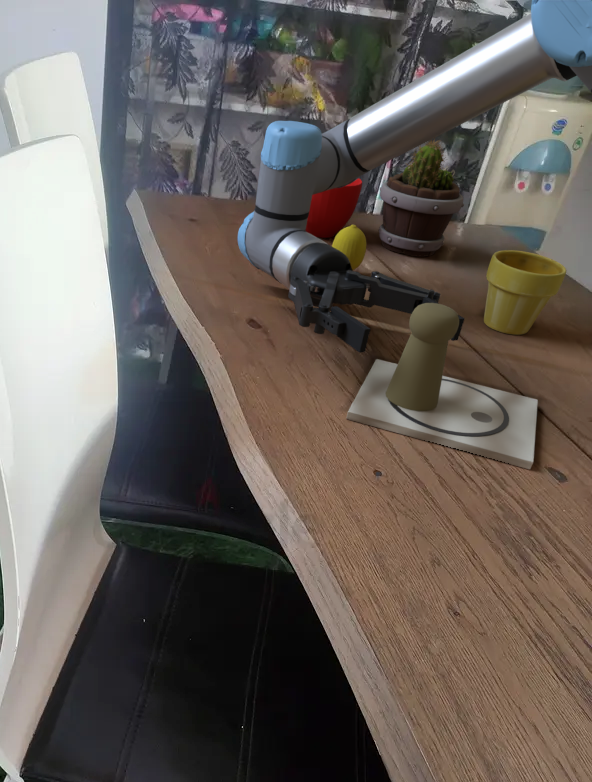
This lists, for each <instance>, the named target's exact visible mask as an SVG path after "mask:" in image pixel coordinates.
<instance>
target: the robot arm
mask: <svg viewBox="0 0 592 782" xmlns="http://www.w3.org/2000/svg"><path fill="white" fill-rule="evenodd" d="M575 77H578V79H579V80H580V81H581V82H582V83H583V85H584V86H585V87H586V88H587V89H588V91H589V92H590V93H591V94H592V0H531V7H530V13H528V14H526V15H525V16H524V17H522V18H520V19H519V20H516V21H515V22H513V23H512V24H509V25H508V26H506V27H504V28H503V29H502V30H499V31H497V32H496V33H494V34H492V35H491V36H489V37H487V38H485V39H484V40H482V41H481V42H479V43H477V44H475V45H474V46H472V47H470V48H469V49H467V50H465V51H463V52H462V53H460V54H458V55H456V56H455V57H453V58H451V59H450V60H447V61H446V62H444V63H443V64H441V65H439V66H438V67H436V68H434V69H433V70H430V71H428V72H427V73H425V74H424V75H422V76H420V77H419V78H417V79H415V80H413V81H412V82H410V83H408V84H407V85H405V86H403V87H401V88H400V89H398V90H396V91H394V92H393V93H391V94H389V95H387V96H385V97H384V98H381V100H379V101H377V102H376V103H374V104H371V105H370V106H368V107H367V108H365V109H363V110H362V111H360V112H358V113H356V114H355V115H353V116H351V117H350V118H348V119H347V120H344V121H342V122H341V123H339V124H338V125H336V126H334V127H332V128H331V129H328V130H327V131H324V132H323V133H322V130H321V129H320V128H319V127H318V126H316V125H314V124H311V123H307V122H301V121H295V120H275V121H272V122H271V123H269V125H268V126H267V128H266V130H265V135H264V140H263V146H262V149H261V152H260V163H259V164H260V165H259V173H258V181H257V187H256V197H255V204H254V205H255V206H254V210H253V211H252V212H251V213H249V214H248V215H247V216H246V217H245V218H244V220H243V222H242V223H241V225H240V226H239V228H238V232H237V244H238V248H239V251H240V253H241V254H242V256H243V257H244V258H245V259H246V260H247V261H249V263H250V264H251V265H252V266H253V267H254V268H256V269H257V270H260V271H261V272H264V273H265V274H267V275H268V276H270V277H271V278H272V279H274V280H275V281H277V282H278V283H279V284H281V285H283V286H284V287H285V288H286V289H288V294H287V297H288V299H289V300H291V301H292V302H293V304H294V309H295V312H296V313H295V314H296V316H297V321H298V326H299V327H302V328H309V327H310V325H311V324H314V327H313V328H314V329H313V333H315V334H318V335H324V334H325V330H327V331H328V332H330V333H331V334H332V335H334V336H336V337H337V338H338V339H340V340H341V341H343V342H344V343H346V344H347V345H348V346H350V347H351V348H352V349H353V350H355V351H356V352H358V353H360V354H362V353H365V352H366V350H367V346H368V341H369V338H370V334H371V328H370V327H369V326H368V325H365V324H364V323H362V322H361V321H360V320H358V319H357V318H355V317H354V316H352V315H350V313H348V312H347V311H345V310H343V309H342V308H341V307H339V306H337V305H340V306H342V305H348V306H349V305H357V306H360V307H365V308H372V307H373V306H377V307H382V308H385V309H389V310H393V311H396V312H402V313H405V314H409V315H411V314H412V312H413V311H414V309H415V308H416V307H417V306H418V305H421V304H424V303H437V304H440V303H439V302H440V299H441V293H440V292H438V291H435V290H434V289H427V288H426V287H422V286H418V285H416V284H412V283H409V282H406V281H404V280H400V279H396V278H393V277H390V276H388V275H386V274H384V273H382V272H379V271H377V270H374V271H371V273H370V276H368V275H364V274H361V273H360V272H359V271H355V270H352V267H351V264H350V261H349V259H348V258H347V256H346V255H345V254H344V253H342V252H341V251H339V250H337V249H335V248H334V247H332V245H330V244H329V243H327V242H326V241H324V240H323V239H321V238H320V237H315V236H313V235H312V234H310V233H308V232H306V231H305V230H306V225H307V219H308V216H309V211H310V205H311V199H312V195H314V194H317V193H321V192H324V191H326V190H330V189H333V188H341V187H344V186H346V185H348V184H351V183H352V182H354V181H355V180H357V179H358V178H359V179H360V177H362V176H364V175H365V174H367V173H369V172H371V171H372V170H374V169H376V168H378V167H381V166H382V165H384V164H386V163H387V162H390V161H392V160H394V159H395V158H398V157H400V156H402V155H404V154H407V153H408V152H410V151H411V150H414V149H415V148H416V149H417V148H418V146H419V147H420V146H421V145H424V144H426V143H428V142H430V141H431V140H434V138H435V139H436V138H438V137H439V136H441V135H443V134H445V133H447V132H449V131H451V130H453V129H455V128H457V127H458V126H460V125H463V124H465V123H466V122H468V121H471V120H473V119H474V118H476V117H478V116H481V115H482V114H484V113H487V112H489V111H490V110H492V109H495V108H496V107H498V106H500V105H502V104H504V103H506V102H508V101H510V100H512V99H514V98H515V97H518V96H520V95H522V94H524V93H526V92H527V91H529V90H532V89H534V88H536V87H537V86H539V85H541V84H543V83H545V82H547V81H549V80H551V79H556V80H559V81H562V82H567V81H569V80H571V79H573V78H575ZM367 292H369V295H368V299H365V298H366V294H367ZM334 304H336V305H335V306H334ZM458 317H459V326H458V329H457V332H456V334H455V335H454V337H453V338H452V339H450V341H452V342H455V341H459V337H460V334H461V332H462V329H463V325H464V322H465V317H464V316H461V315H460V314H458Z"/></svg>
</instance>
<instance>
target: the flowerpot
mask: <svg viewBox="0 0 592 782" xmlns="http://www.w3.org/2000/svg"><path fill="white" fill-rule="evenodd" d="M435 140H436V137H435V138H433V139H431V140H429V141H428V142H427V143H425V144H424V145H423V146H421V145H419V146H417V148H418V150H417V148H416V149H415V148H414V149H415V150H414V151H413V153H412V155H410V159H412V161H409V162H408V163H406V167H405V168H404V170H403V172H401V173H397V174H394V175H393V176H390V177H389V178H388V180H387V181H385V182H383V183H382V185H381V186H380V187H379V191H380V192H379V197H380V199H381V201H383V204H382V205H383V206H382V223H381V224H380V225H379V228H378V236H379V239H380V240H381V244H382V246H383V247H384V248H385V249H387V250H389V251H392V252H393V253H394V252H395V253H397V254H403V255H406V256H410V257H430V256H432V255H433V256H434V254H435V253H436V251H437V250H440V248H441V247H442V246H444V242H445V236H444V233H445V231H446V229H447V227H448V226H449V224H450V222H451V220H452V218H453V215H454V214H457V213H459V212H460V211H461V209H462V208H463V207H464V206H465V203H464V196H463V195H462V194H461V193H460V192H461V191H460V187H459V185H457V184H456V183H455V182H454V181H455V179H454V175H455V173H453V172H455V170H454V169H452V170H451V171H448V170H449V168H450V166H446V167H444V166H443V165H442V163H446V161H447V160H449V159H446V158H447V156H448V155H446V154H445V151H444V150H441V149H442V145H443V144H442V142H441V139H439V140H436V141H435ZM439 142H440V143H439ZM416 150H417V151H416Z"/></svg>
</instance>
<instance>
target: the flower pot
mask: <svg viewBox="0 0 592 782" xmlns="http://www.w3.org/2000/svg"><path fill="white" fill-rule="evenodd" d="M566 274H567V268H566V267H565V266H564V265H563V264H561V262H559V261H557V260H555V259H553V258H550V257H547V256H544V255H541V254H537V253H534V252H528V251H524V250H516V249H515V250H514V249H513V250H512V249H503V250H499V251H495V252H494V253H493V254H492V256H491V259H490V261H489V264H488V268H487V271H486V274H485V275H486V277H485V278H486V280H487V281H488V285H487V294H486V301H485V309H484V316H483V323H484V324H485V325H486V326H487V327H488V328H490V329H492V330H494V331H496V332H499V333H503V334H505V335H512V336H513V335H514V336H520V335H526V334H527V333H528V332H529V331H530V329H531V328H532V326H533V325H534V323H535V322H536V320H537V318H538V317H539V315H540V314H541V312H543V310H544V308H545V307H546V305H547V304H548V302H549V300H550V299H551V297H554V296H556V295H558V292H559V291H560V289H561V286H562V284H563V282H564V279H565V277H566Z"/></svg>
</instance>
